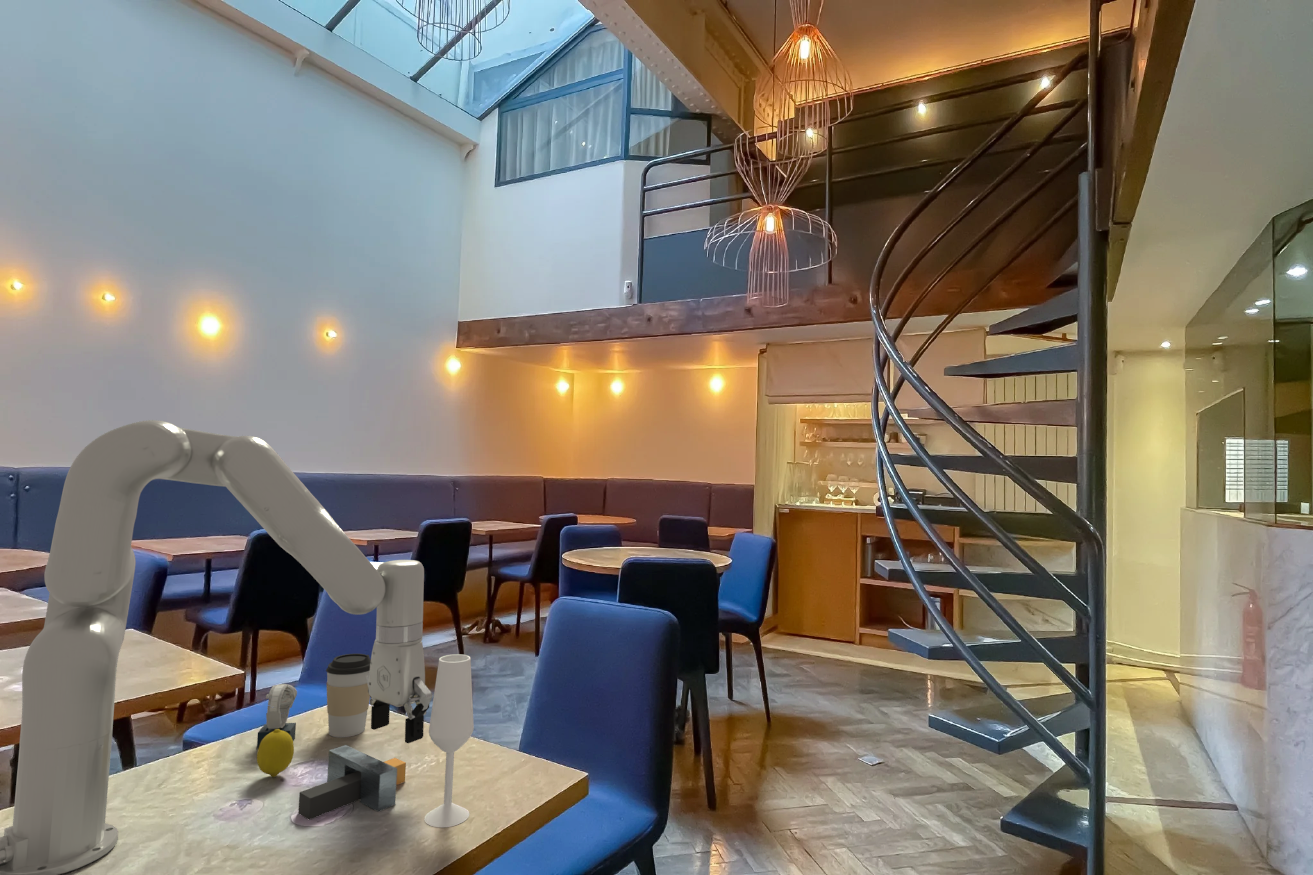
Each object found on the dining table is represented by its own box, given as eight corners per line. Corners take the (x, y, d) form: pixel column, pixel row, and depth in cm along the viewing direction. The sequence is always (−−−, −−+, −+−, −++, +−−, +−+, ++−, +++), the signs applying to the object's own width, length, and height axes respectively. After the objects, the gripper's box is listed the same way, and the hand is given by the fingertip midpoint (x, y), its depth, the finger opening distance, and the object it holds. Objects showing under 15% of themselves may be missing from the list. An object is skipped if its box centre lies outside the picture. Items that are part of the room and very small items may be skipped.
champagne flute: (447, 801, 108) (454, 650, 110) (478, 812, 105) (486, 656, 107) (414, 819, 102) (422, 659, 104) (447, 831, 99) (455, 666, 101)
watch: (297, 734, 133) (301, 678, 134) (286, 751, 126) (290, 691, 126) (266, 736, 132) (269, 679, 133) (253, 753, 124) (257, 692, 125)
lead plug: (308, 820, 101) (310, 798, 102) (298, 813, 103) (299, 792, 103) (404, 781, 115) (405, 762, 115) (393, 776, 117) (394, 757, 117)
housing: (378, 811, 104) (380, 774, 105) (326, 784, 113) (329, 750, 113) (395, 804, 107) (397, 768, 107) (343, 778, 115) (345, 744, 116)
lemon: (264, 787, 111) (267, 737, 112) (249, 777, 115) (253, 729, 115) (298, 776, 116) (301, 728, 116) (283, 767, 119) (286, 720, 119)
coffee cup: (317, 740, 131) (321, 662, 132) (328, 723, 140) (332, 650, 141) (366, 737, 133) (371, 661, 134) (374, 721, 142) (378, 649, 143)
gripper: (351, 629, 118) (347, 728, 117) (411, 645, 108) (408, 753, 107) (389, 622, 124) (386, 716, 123) (449, 636, 114) (447, 738, 113)
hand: (396, 733), depth 115 cm, fingers open, 9 cm apart
